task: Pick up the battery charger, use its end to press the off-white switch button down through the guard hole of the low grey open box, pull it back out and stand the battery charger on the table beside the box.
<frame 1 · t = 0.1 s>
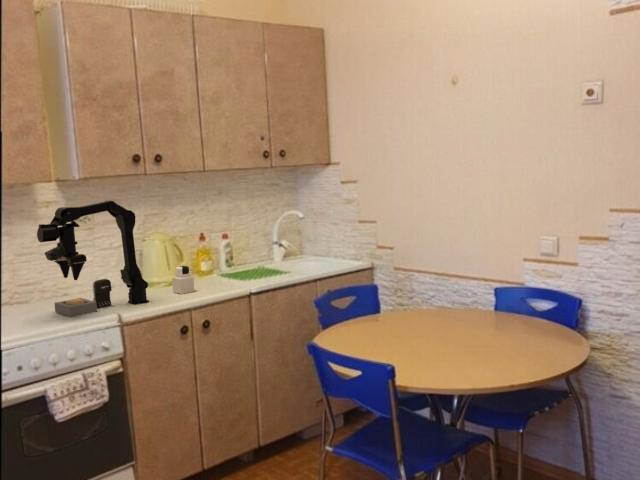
hand: (70, 279, 239), 15 cm above the table, tool pointing down, fingers open, 9 cm apart
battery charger: (104, 307, 255), on the table
switch button: (75, 303, 246), point 4 cm above the table, slide at 0.0 cm
grey open box: (76, 312, 246), on the table
grey stepped upright block: (183, 292, 279), on the table
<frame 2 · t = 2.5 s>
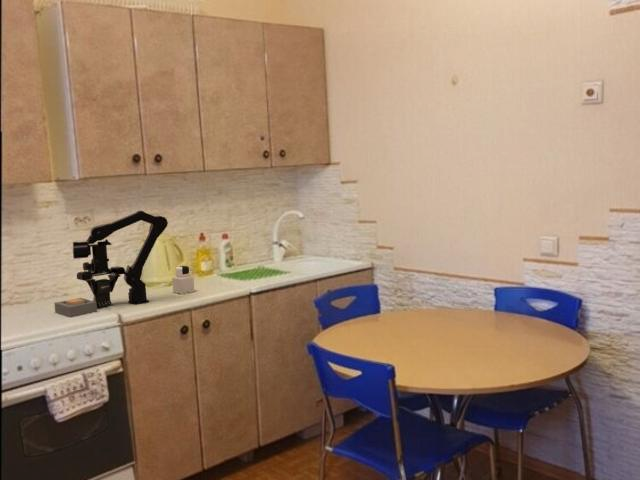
hand: (102, 293, 254), 6 cm above the table, tool pointing down, fingers closed on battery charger, 7 cm apart
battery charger: (104, 306, 255), on the table, touching gripper
everything else where it was.
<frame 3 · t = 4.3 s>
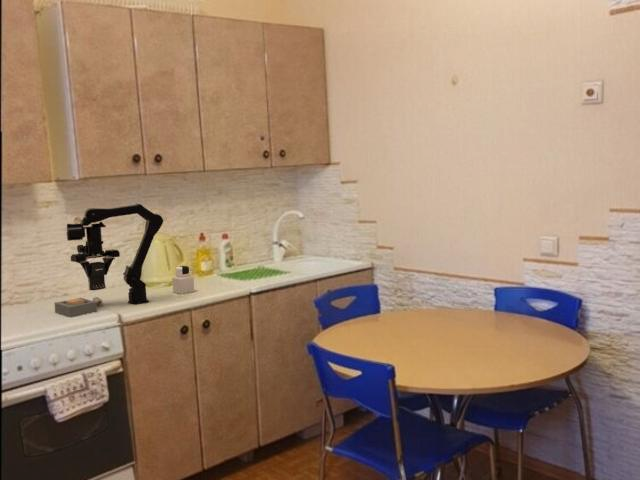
hand: (97, 276, 252), 13 cm above the table, tool pointing down, fingers closed on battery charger, 7 cm apart
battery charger: (98, 290, 253), point 7 cm above the table, touching gripper
everything else where it was.
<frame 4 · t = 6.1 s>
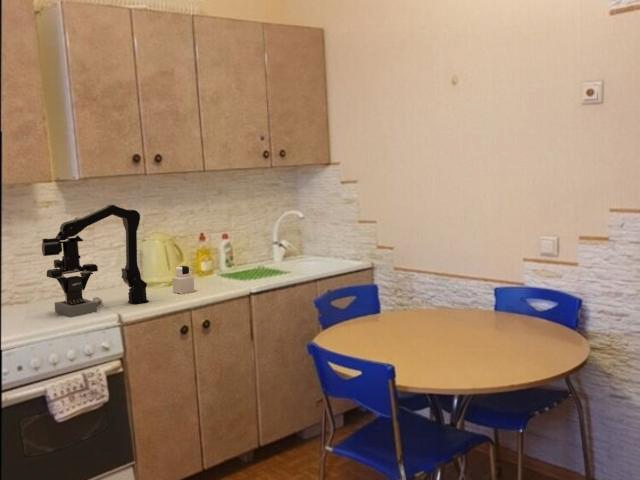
hand: (74, 291, 246), 8 cm above the table, tool pointing down, fingers closed on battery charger, 7 cm apart
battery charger: (75, 305, 246), point 3 cm above the table, touching gripper, switch button
switch button: (75, 307, 246), point 2 cm above the table, slide at 1.7 cm, touching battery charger, grey open box
everything else where it was.
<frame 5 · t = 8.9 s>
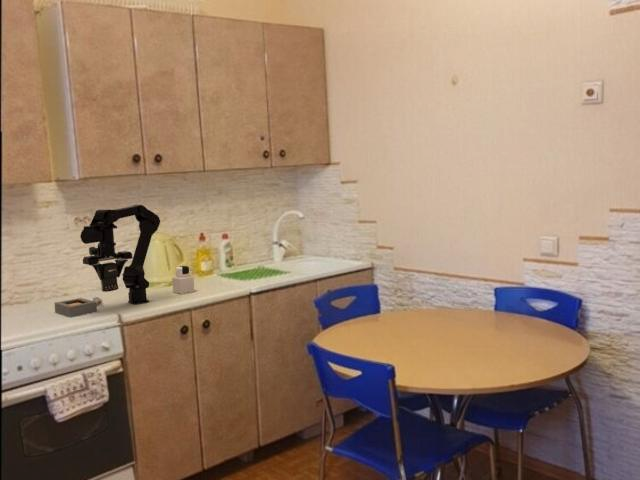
hand: (109, 278, 247), 13 cm above the table, tool pointing down, fingers closed on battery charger, 7 cm apart
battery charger: (111, 291, 247), point 8 cm above the table, touching gripper
switch button: (75, 307, 246), point 2 cm above the table, slide at 1.7 cm, touching grey open box
everything else where it was.
when the fingers open (7 cm above the table, at t = 10.8 s): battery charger drops 2 cm, on the table.
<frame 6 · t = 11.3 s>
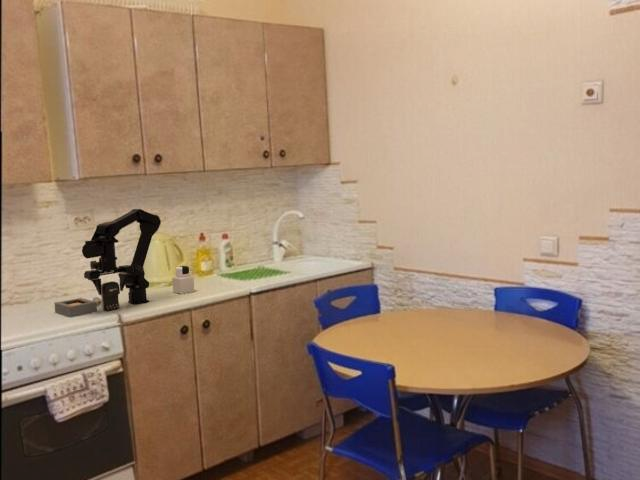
hand: (111, 292, 247), 7 cm above the table, tool pointing down, fingers open, 9 cm apart
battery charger: (112, 310, 248), on the table
everything else where it was.
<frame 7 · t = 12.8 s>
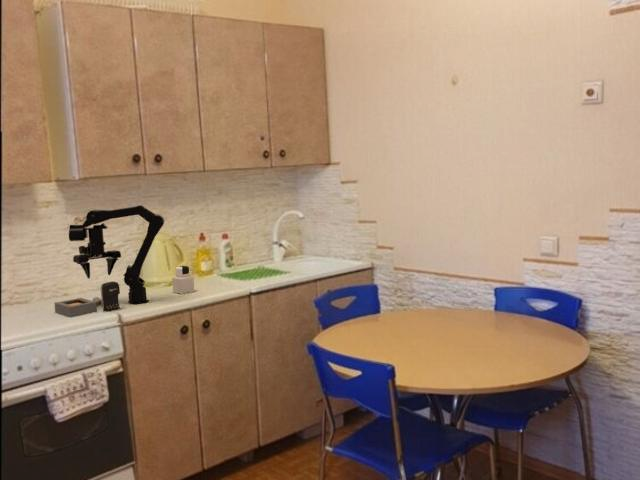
hand: (99, 276, 256), 12 cm above the table, tool pointing down, fingers open, 9 cm apart
nothing on the table moved.
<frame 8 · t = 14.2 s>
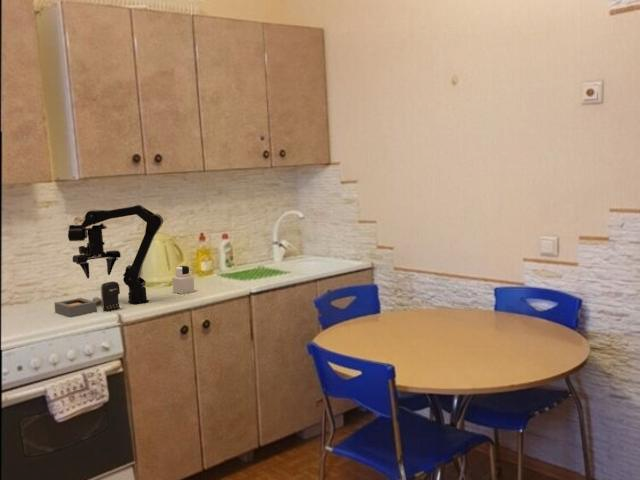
hand: (98, 276, 258), 12 cm above the table, tool pointing down, fingers open, 9 cm apart
nothing on the table moved.
at the end: switch button slide at 1.7 cm; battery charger inside the target area (0.0 cm from its centre), on the table; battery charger tilted 0° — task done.
